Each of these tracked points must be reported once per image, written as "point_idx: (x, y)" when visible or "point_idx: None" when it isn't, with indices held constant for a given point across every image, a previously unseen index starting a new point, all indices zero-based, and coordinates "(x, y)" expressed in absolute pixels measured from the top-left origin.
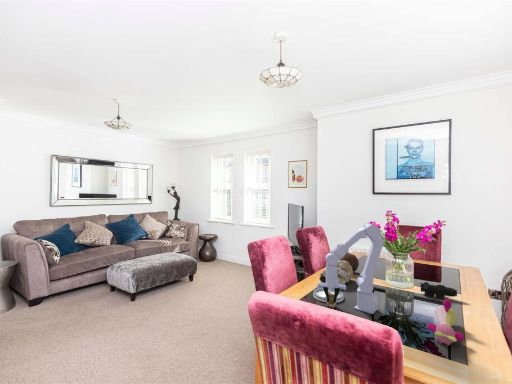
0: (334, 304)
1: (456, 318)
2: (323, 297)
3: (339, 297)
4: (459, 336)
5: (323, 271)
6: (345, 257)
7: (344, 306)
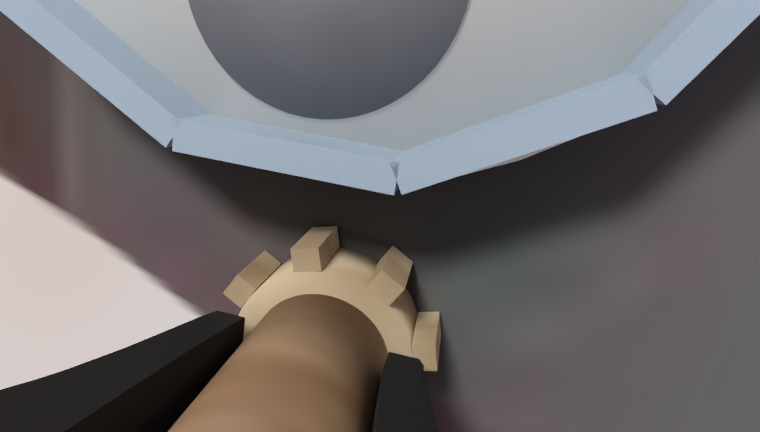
0: None
1: None
2: (135, 92)
3: (669, 50)
4: None
5: None
6: None
7: (636, 348)
